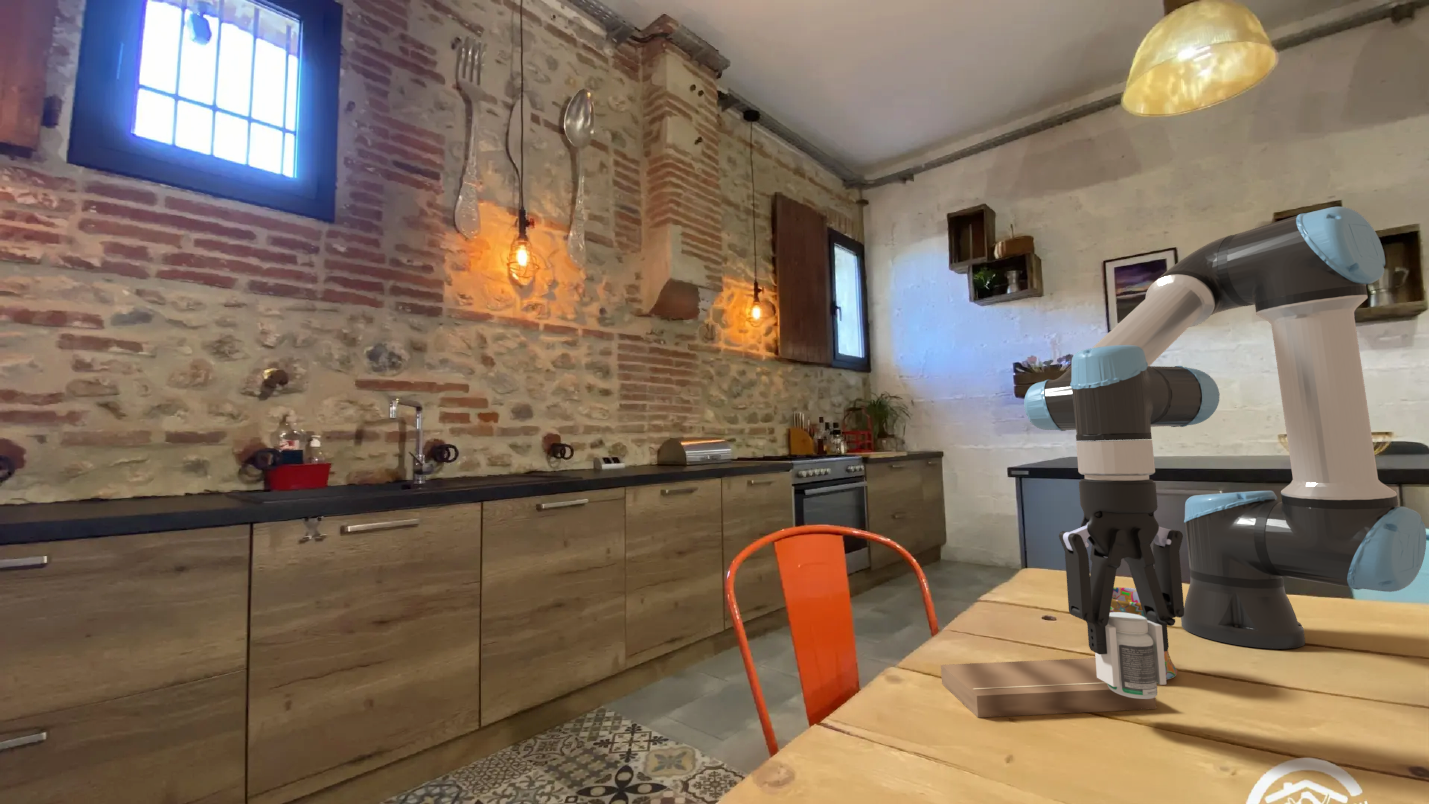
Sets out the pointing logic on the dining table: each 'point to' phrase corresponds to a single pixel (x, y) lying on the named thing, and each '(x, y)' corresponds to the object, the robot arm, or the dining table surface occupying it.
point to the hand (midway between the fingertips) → (1131, 680)
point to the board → (1035, 688)
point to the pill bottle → (1134, 656)
